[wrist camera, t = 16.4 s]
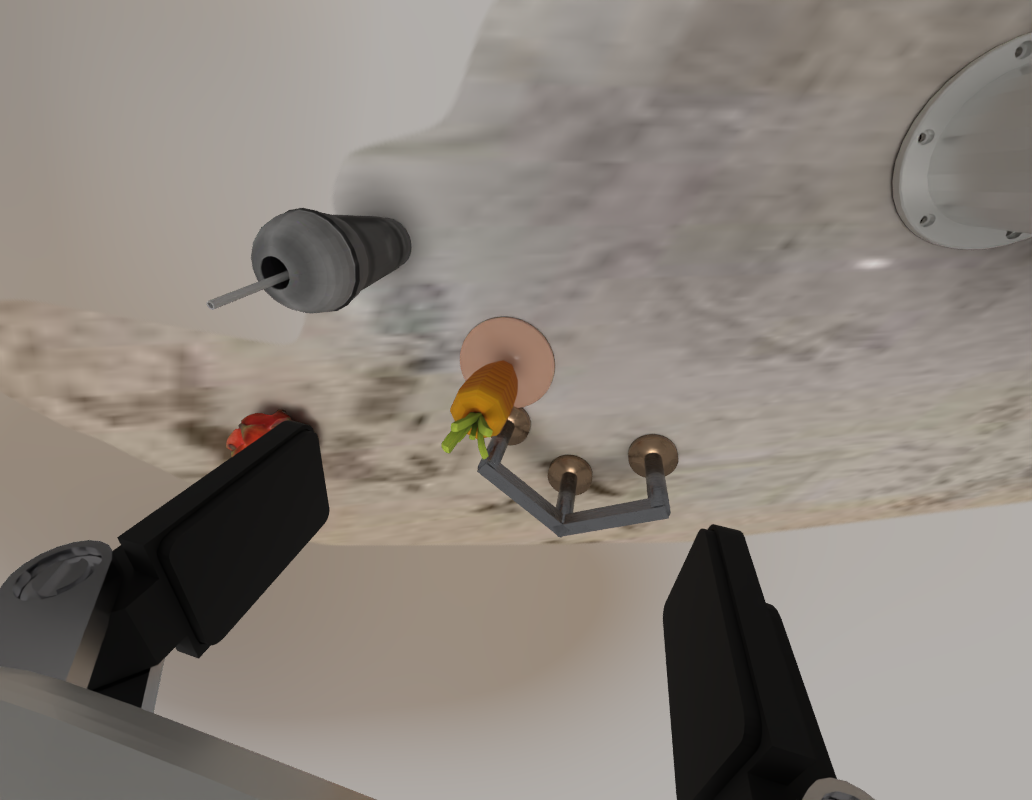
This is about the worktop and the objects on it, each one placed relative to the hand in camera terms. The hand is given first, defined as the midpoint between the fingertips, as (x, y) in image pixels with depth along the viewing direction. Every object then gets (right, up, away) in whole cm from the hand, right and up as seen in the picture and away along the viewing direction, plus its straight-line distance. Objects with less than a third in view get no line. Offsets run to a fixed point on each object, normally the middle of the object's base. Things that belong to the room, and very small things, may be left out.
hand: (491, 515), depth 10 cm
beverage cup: (-12, +18, +30) cm, 37 cm away
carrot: (0, +7, +33) cm, 33 cm away
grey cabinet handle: (+7, -3, +37) cm, 37 cm away
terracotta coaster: (0, +7, +33) cm, 34 cm away
